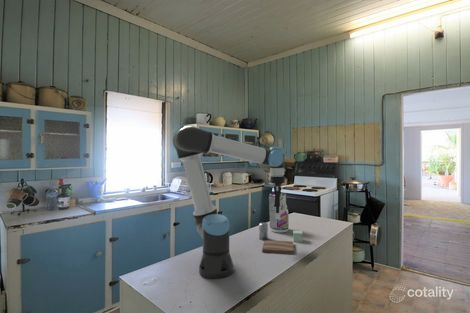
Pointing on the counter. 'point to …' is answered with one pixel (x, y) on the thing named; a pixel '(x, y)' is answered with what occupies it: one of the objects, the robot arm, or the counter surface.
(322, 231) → the counter surface
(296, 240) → the sage block
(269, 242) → the board
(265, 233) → the grey tin
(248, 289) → the counter surface
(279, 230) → the supplement tub
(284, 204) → the candy bar box
